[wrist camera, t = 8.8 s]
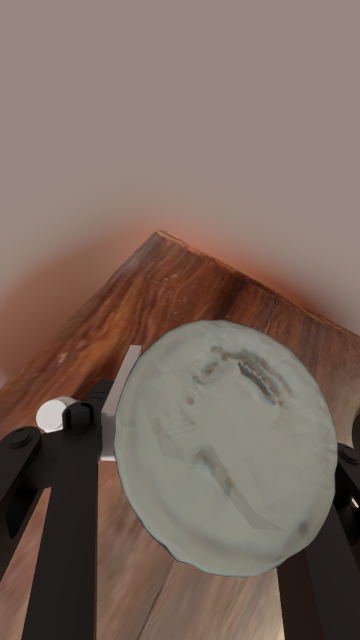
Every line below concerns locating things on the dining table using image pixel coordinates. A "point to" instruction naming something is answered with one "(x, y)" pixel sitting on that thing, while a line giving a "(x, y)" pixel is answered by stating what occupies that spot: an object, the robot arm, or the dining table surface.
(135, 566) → the dining table surface
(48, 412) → the pill bottle
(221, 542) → the sauce bottle
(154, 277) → the dining table surface
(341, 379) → the dining table surface
